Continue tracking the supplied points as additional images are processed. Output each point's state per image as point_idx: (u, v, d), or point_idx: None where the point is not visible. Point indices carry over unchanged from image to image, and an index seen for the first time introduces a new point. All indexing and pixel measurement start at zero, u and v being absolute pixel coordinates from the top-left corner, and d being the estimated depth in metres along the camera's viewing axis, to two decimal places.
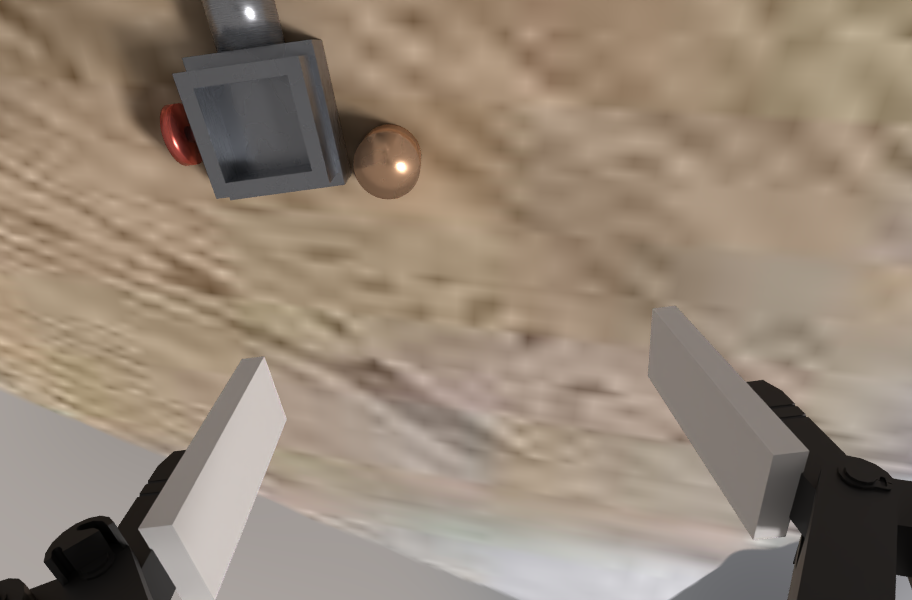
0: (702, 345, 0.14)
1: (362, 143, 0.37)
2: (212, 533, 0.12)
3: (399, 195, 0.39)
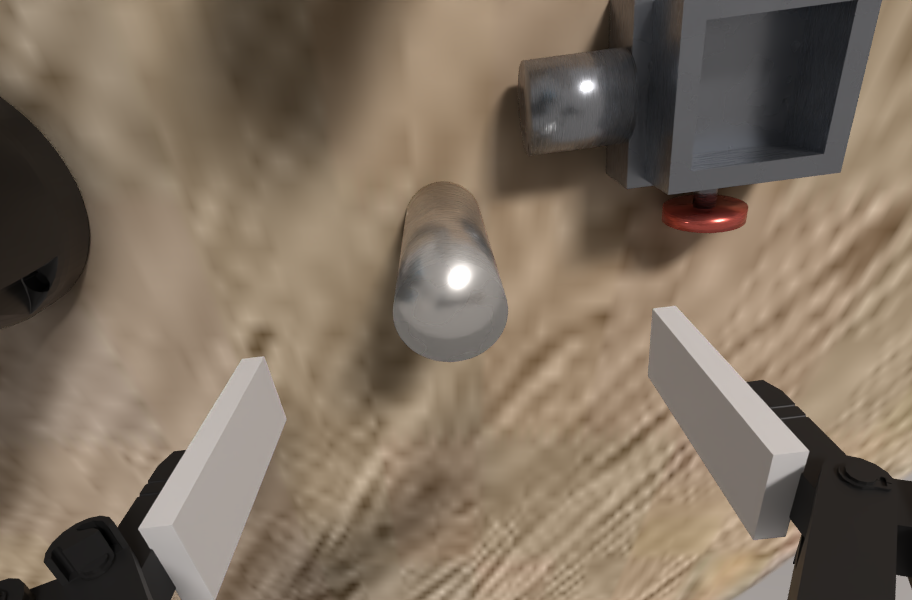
0: (702, 345, 0.14)
1: None
2: (212, 533, 0.12)
3: None
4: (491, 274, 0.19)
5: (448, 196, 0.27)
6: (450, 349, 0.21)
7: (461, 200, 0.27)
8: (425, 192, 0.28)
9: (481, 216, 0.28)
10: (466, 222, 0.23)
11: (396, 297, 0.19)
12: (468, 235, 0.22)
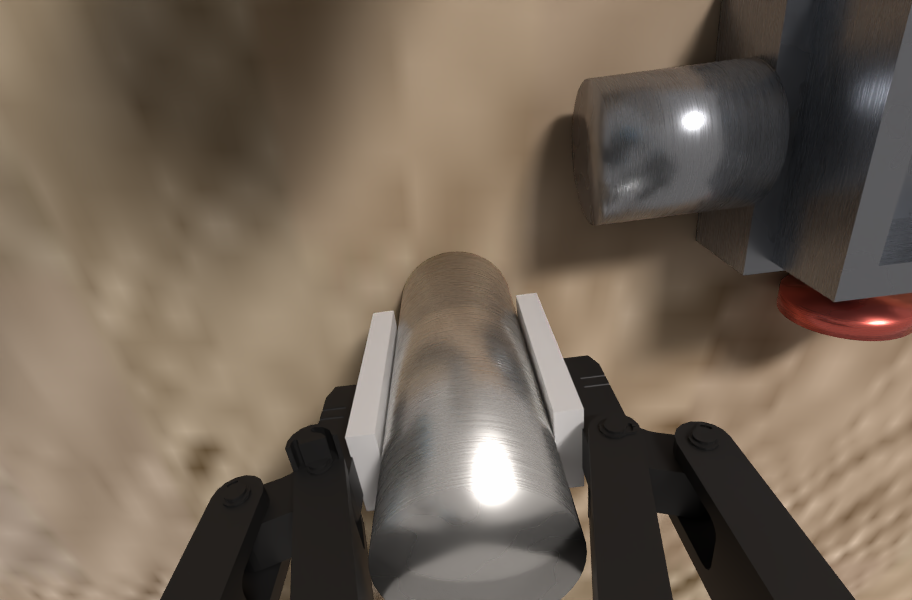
0: (541, 326, 0.16)
1: None
2: None
3: None
4: (559, 501, 0.10)
5: (465, 284, 0.17)
6: None
7: (486, 291, 0.17)
8: (430, 272, 0.19)
9: (514, 310, 0.19)
10: (498, 348, 0.14)
11: (374, 542, 0.10)
12: (504, 385, 0.13)
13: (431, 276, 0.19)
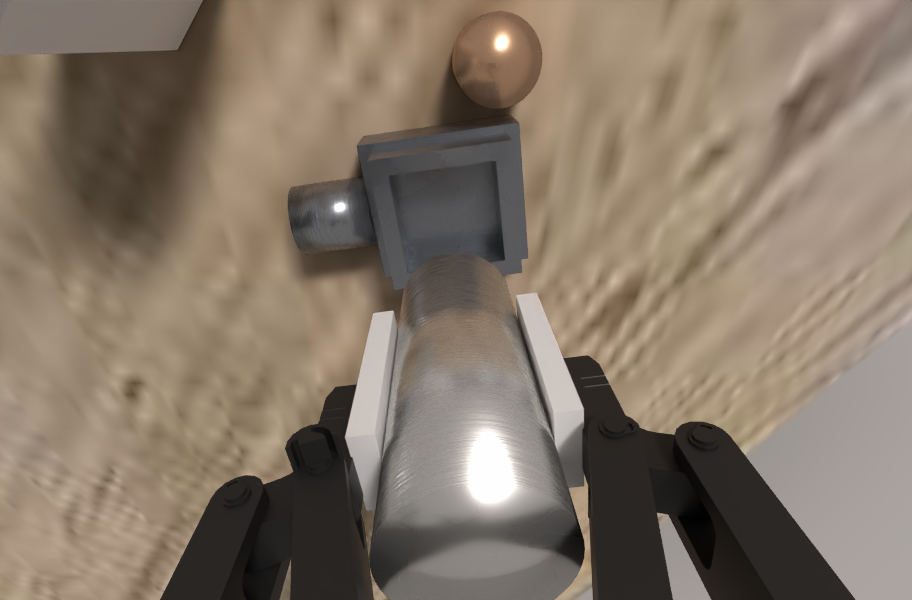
0: (541, 326, 0.16)
1: (468, 94, 0.29)
2: None
3: (538, 45, 0.28)
4: (557, 499, 0.10)
5: (465, 284, 0.18)
6: None
7: (485, 292, 0.17)
8: (431, 272, 0.19)
9: (514, 310, 0.19)
10: (498, 348, 0.14)
11: (375, 539, 0.10)
12: (504, 385, 0.13)
13: (431, 277, 0.19)
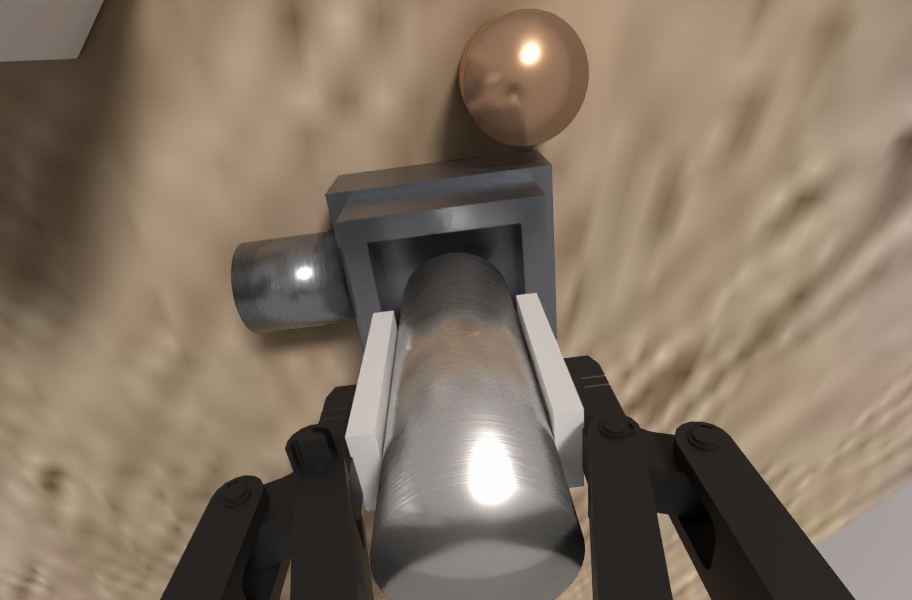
0: (541, 326, 0.16)
1: (482, 126, 0.20)
2: None
3: (583, 58, 0.19)
4: (557, 499, 0.10)
5: (466, 284, 0.18)
6: None
7: (486, 292, 0.17)
8: (431, 272, 0.19)
9: (514, 310, 0.19)
10: (498, 348, 0.14)
11: (375, 539, 0.10)
12: (505, 385, 0.13)
13: (431, 277, 0.19)
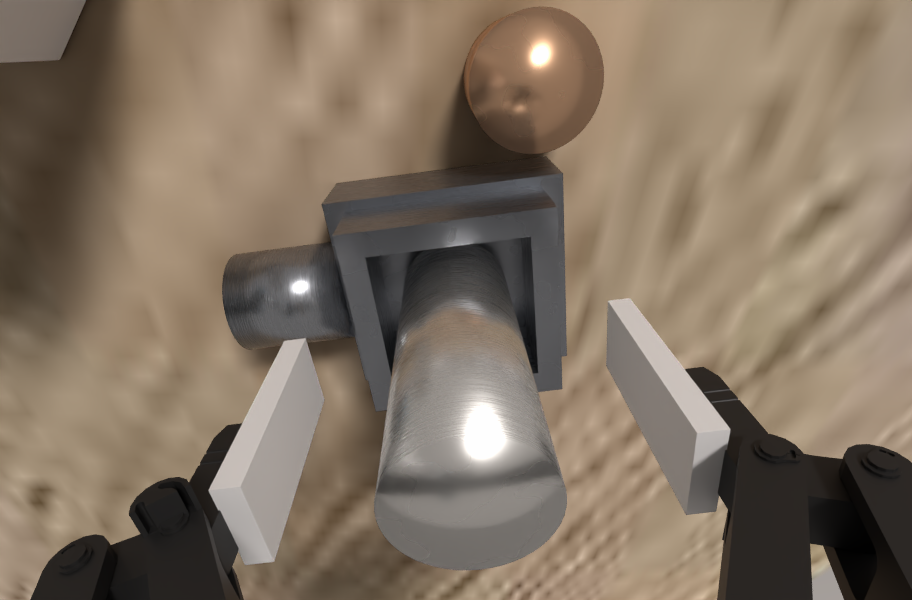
0: (648, 334, 0.15)
1: (489, 132, 0.19)
2: (270, 499, 0.13)
3: (598, 60, 0.18)
4: (541, 451, 0.11)
5: (463, 269, 0.19)
6: (469, 554, 0.13)
7: (482, 276, 0.19)
8: (430, 259, 0.20)
9: (509, 294, 0.20)
10: (492, 324, 0.15)
11: (379, 487, 0.11)
12: (496, 356, 0.14)
13: (431, 262, 0.20)
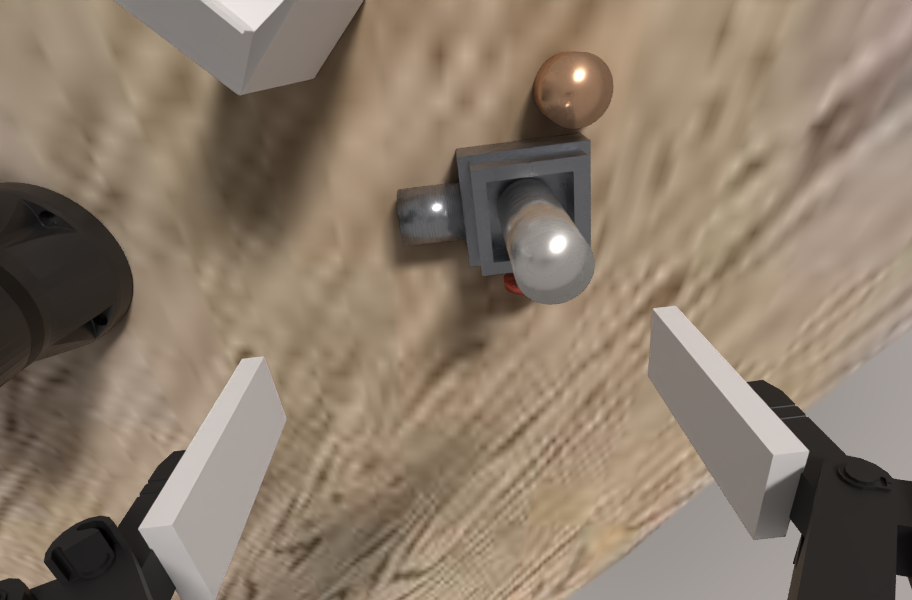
0: (702, 345, 0.14)
1: (551, 117, 0.36)
2: (212, 533, 0.12)
3: (610, 78, 0.35)
4: (584, 240, 0.28)
5: (537, 189, 0.35)
6: (551, 295, 0.29)
7: (547, 192, 0.35)
8: (516, 186, 0.37)
9: None
10: (557, 207, 0.32)
11: (518, 256, 0.28)
12: (562, 215, 0.30)
13: (518, 188, 0.37)
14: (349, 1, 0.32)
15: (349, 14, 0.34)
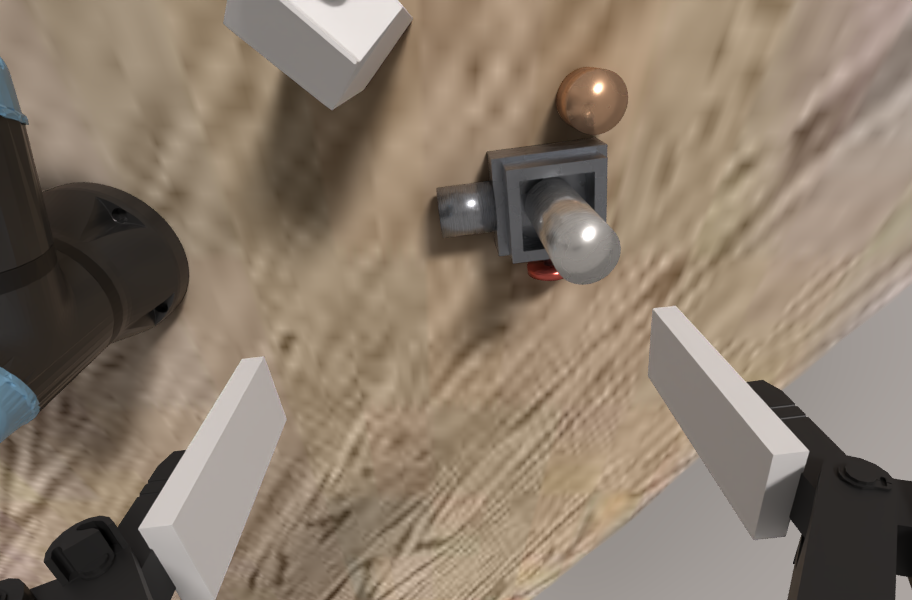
0: (702, 345, 0.14)
1: (574, 124, 0.41)
2: (212, 533, 0.12)
3: (625, 91, 0.40)
4: (612, 230, 0.33)
5: (563, 187, 0.41)
6: (583, 276, 0.35)
7: (572, 190, 0.41)
8: (544, 185, 0.42)
9: None
10: (584, 202, 0.38)
11: (557, 243, 0.34)
12: (590, 209, 0.36)
13: (545, 186, 0.42)
14: (404, 25, 0.37)
15: (400, 35, 0.39)
